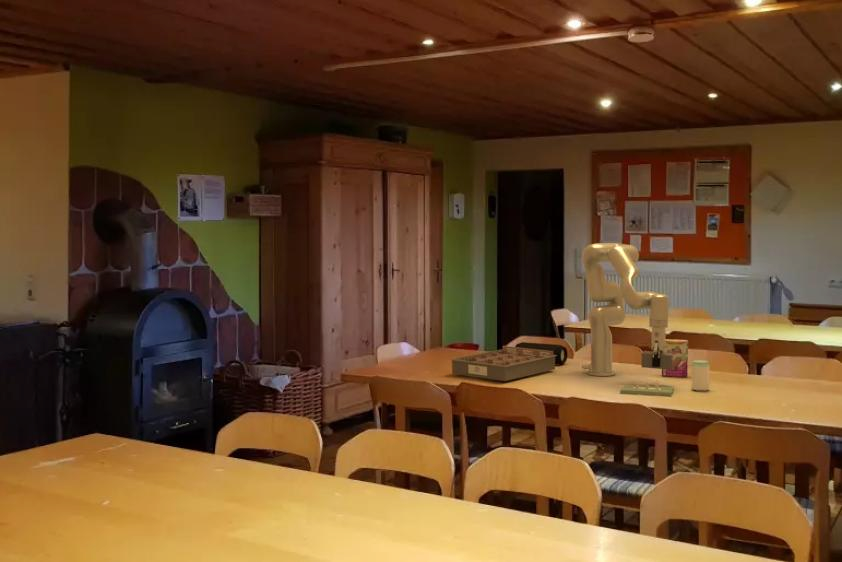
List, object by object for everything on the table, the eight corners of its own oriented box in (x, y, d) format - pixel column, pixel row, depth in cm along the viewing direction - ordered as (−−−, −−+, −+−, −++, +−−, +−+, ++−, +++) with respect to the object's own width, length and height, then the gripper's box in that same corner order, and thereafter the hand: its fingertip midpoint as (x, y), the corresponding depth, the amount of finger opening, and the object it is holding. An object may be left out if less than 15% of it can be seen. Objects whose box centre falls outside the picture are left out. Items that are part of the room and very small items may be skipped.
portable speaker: (513, 362, 429) (512, 343, 429) (522, 360, 438) (521, 340, 437) (560, 366, 415) (559, 346, 415) (568, 363, 423) (568, 343, 423)
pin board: (620, 393, 348) (620, 381, 348) (624, 388, 360) (624, 376, 359) (671, 396, 341) (671, 384, 341) (674, 390, 352) (674, 378, 352)
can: (712, 391, 350) (712, 362, 349) (695, 391, 349) (695, 362, 348) (705, 388, 357) (705, 359, 356) (688, 388, 356) (688, 360, 355)
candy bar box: (661, 376, 384) (661, 340, 383) (662, 374, 389) (662, 339, 388) (687, 377, 380) (687, 341, 379) (688, 375, 385) (688, 339, 384)
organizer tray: (449, 376, 394) (449, 355, 394) (503, 365, 423) (503, 345, 423) (505, 384, 373) (504, 362, 372) (557, 372, 402) (557, 351, 401)
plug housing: (641, 367, 362) (641, 353, 361) (643, 364, 368) (643, 350, 367) (670, 369, 358) (671, 355, 357) (672, 367, 363) (672, 353, 362)
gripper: (665, 327, 351) (663, 370, 353) (669, 321, 367) (668, 362, 369) (646, 325, 354) (645, 368, 356) (651, 319, 370) (650, 360, 372)
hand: (656, 364), depth 362 cm, fingers closed on plug housing, 6 cm apart
